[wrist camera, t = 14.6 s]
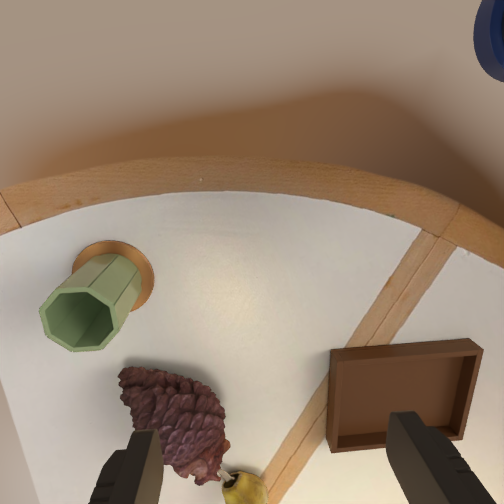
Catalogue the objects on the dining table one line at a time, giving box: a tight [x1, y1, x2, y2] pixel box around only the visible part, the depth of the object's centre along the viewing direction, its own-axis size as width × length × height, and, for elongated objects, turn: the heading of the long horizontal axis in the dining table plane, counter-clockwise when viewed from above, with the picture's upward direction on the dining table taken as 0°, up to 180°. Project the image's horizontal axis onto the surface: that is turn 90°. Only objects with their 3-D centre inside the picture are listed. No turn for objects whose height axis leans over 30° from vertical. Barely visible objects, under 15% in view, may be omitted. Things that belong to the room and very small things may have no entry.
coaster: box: [72, 241, 154, 312], centre depth 37 cm, size 9×9×1 cm
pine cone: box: [118, 367, 230, 486], centre depth 39 cm, size 18×10×10 cm
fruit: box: [218, 469, 268, 504], centre depth 47 cm, size 6×6×10 cm
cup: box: [39, 253, 142, 352], centre depth 32 cm, size 6×6×9 cm
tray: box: [326, 339, 484, 453], centre depth 45 cm, size 20×16×3 cm
